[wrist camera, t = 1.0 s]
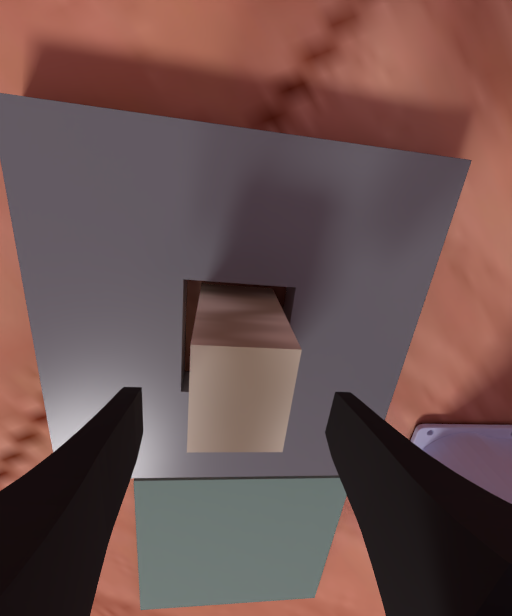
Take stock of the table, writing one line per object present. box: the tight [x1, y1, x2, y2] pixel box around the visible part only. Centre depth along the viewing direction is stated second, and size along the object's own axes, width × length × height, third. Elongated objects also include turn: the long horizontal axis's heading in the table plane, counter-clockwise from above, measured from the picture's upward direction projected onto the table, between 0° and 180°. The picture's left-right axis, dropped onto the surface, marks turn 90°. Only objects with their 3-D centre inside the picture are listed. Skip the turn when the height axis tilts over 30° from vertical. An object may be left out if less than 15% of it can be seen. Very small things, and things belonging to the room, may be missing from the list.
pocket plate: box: [0, 93, 472, 478], centre depth 17 cm, size 20×20×2 cm
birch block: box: [187, 283, 302, 452], centre depth 15 cm, size 4×5×7 cm
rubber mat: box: [134, 475, 347, 610], centre depth 26 cm, size 16×16×1 cm
